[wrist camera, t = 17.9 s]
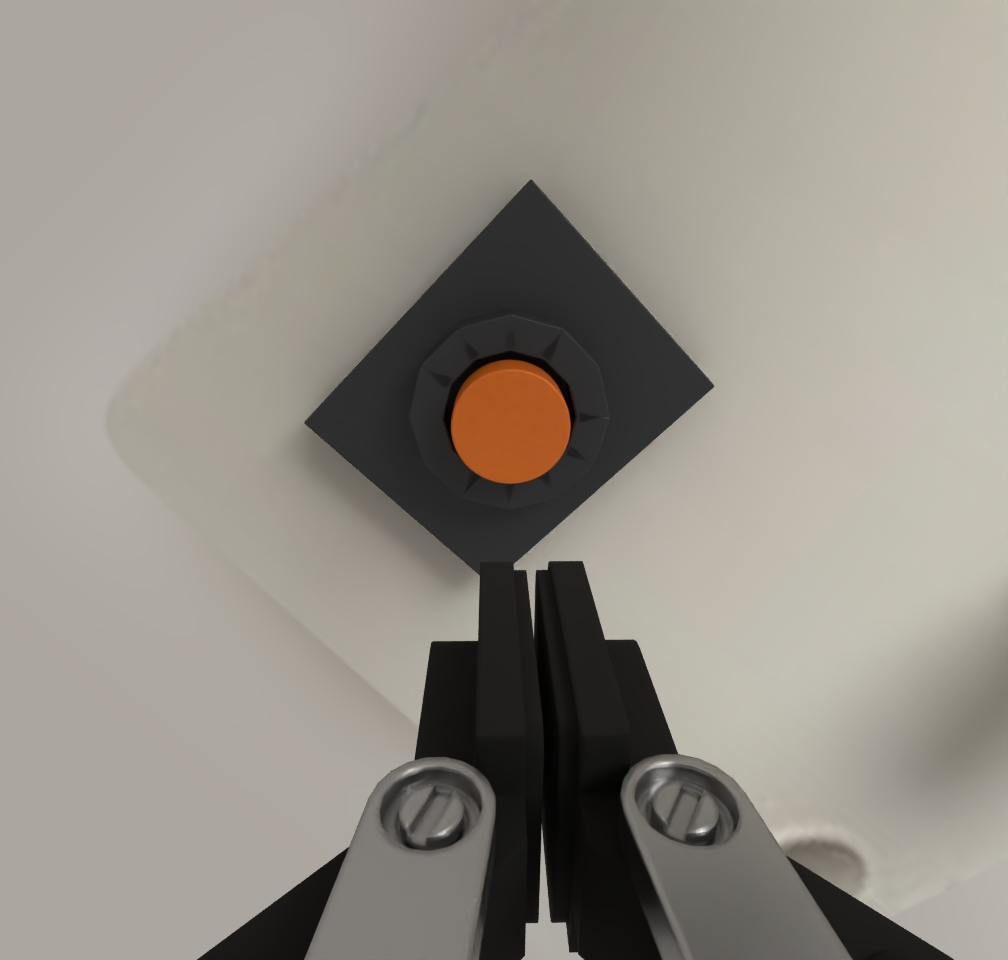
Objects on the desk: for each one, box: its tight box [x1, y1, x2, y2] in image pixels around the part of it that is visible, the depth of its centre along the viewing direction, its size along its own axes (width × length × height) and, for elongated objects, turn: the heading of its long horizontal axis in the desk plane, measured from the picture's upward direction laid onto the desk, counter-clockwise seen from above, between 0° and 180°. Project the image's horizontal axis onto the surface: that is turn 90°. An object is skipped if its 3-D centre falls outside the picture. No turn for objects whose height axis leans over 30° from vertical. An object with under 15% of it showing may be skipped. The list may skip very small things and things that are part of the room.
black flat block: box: [305, 180, 714, 575], centre depth 25 cm, size 10×12×4 cm
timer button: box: [451, 359, 571, 484], centre depth 23 cm, size 4×4×2 cm
